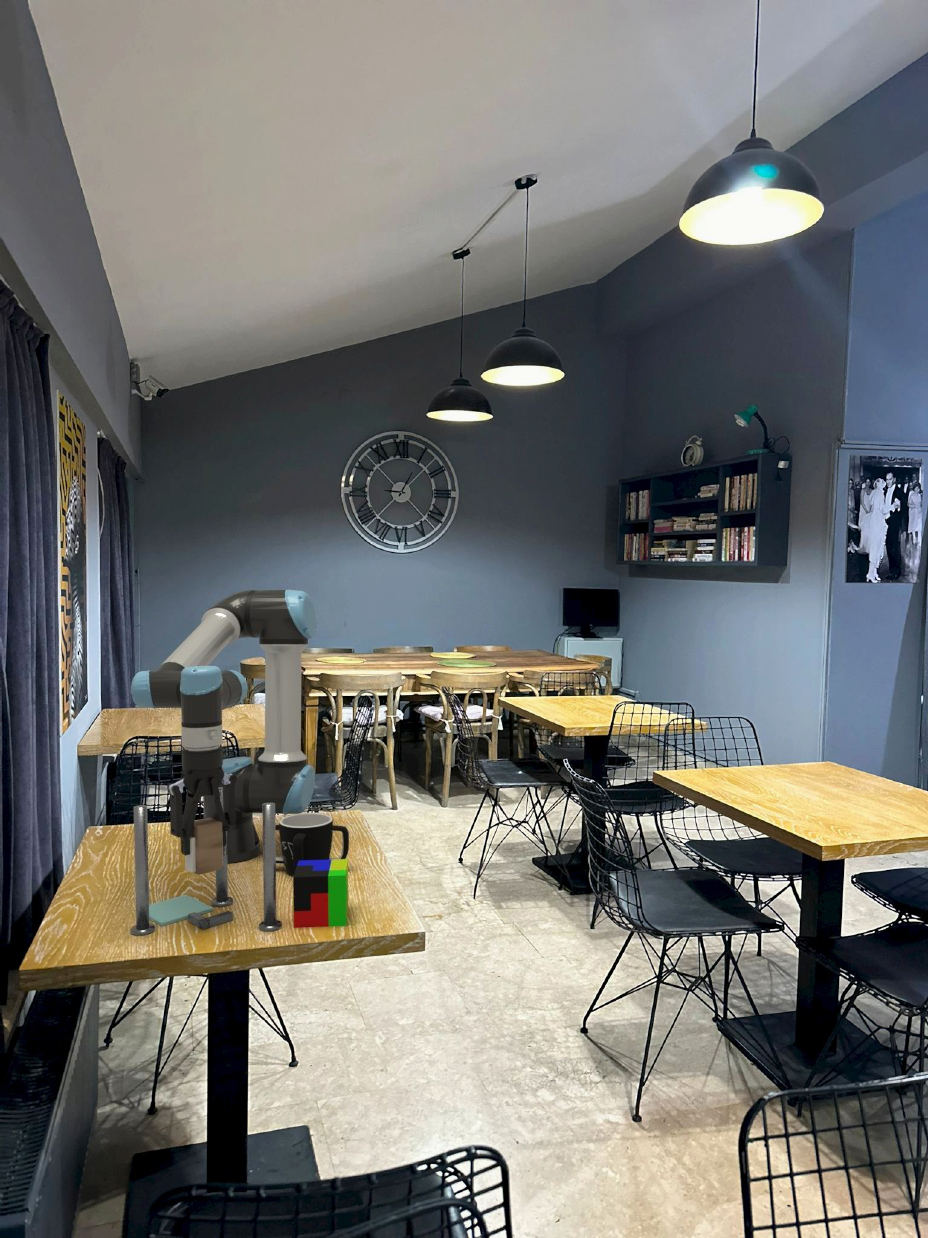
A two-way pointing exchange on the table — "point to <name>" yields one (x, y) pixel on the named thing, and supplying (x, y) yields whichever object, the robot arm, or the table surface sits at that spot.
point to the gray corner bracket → (209, 919)
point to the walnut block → (208, 845)
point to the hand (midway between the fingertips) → (204, 867)
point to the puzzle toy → (320, 893)
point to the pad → (176, 909)
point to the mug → (308, 839)
